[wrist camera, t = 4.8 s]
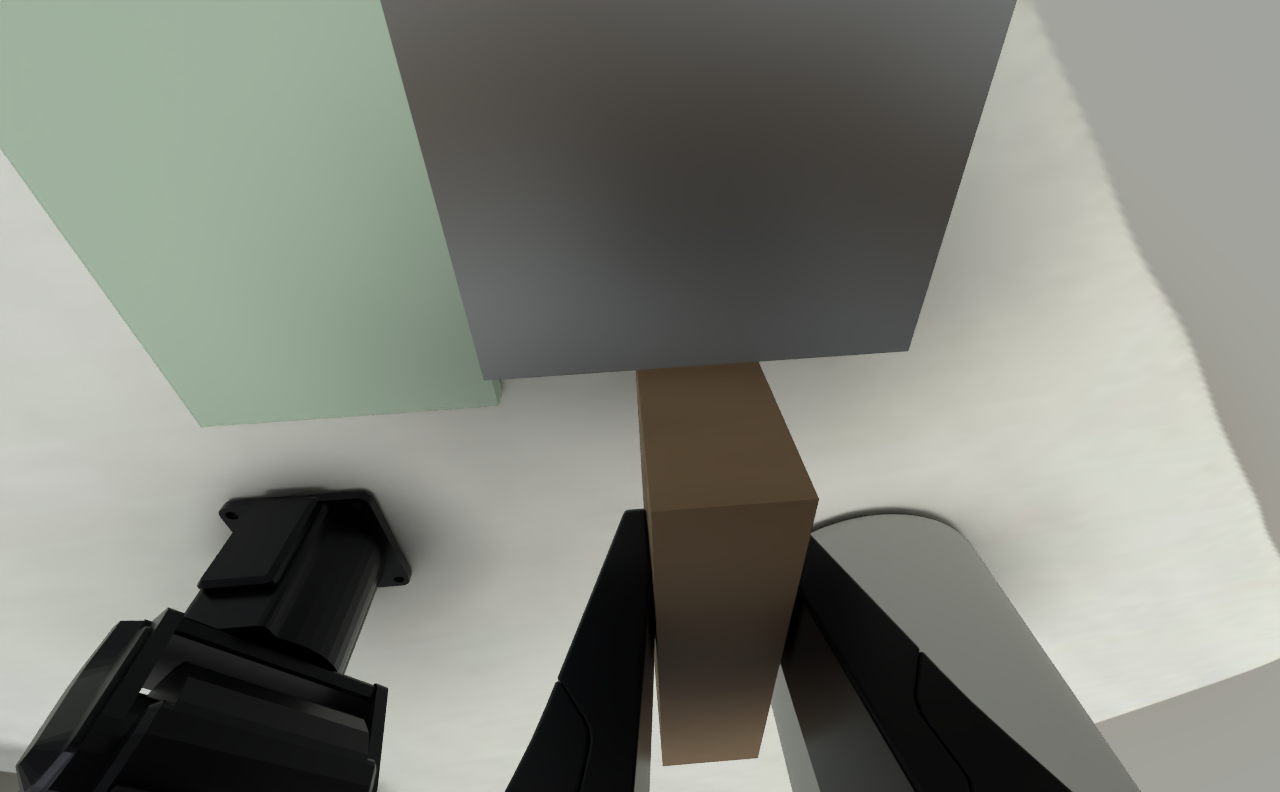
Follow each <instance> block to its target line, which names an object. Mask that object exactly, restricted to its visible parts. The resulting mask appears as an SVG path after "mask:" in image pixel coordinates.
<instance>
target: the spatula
mask: <svg viewBox="0 0 1280 792" xmlns="http://www.w3.org/2000/svg"><path fill="white" fill-rule="evenodd" d="M1016 1H1017V0H380V2H381V5H382V9H383V13H384V16H385V20H386V24H387V27H388V31H389V35H390V38H391V42H392V46H393V49H394V53H395V57H396V60H397V64H398V68H399V71H400V75H401V79H402V82H403V86H404V90H405V93H406V97H407V101H408V104H409V108H410V112H411V115H412V119H413V123H414V126H415V130H416V134H417V137H418V141H419V145H420V148H421V152H422V156H423V159H424V163H425V167H426V170H427V174H428V178H429V181H430V185H431V189H432V192H433V196H434V200H435V203H436V207H437V211H438V214H439V218H440V222H441V225H442V229H443V233H444V236H445V240H446V244H447V247H448V251H449V255H450V258H451V262H452V266H453V269H454V273H455V277H456V280H457V284H458V288H459V291H460V295H461V299H462V302H463V306H464V310H465V313H466V317H467V321H468V324H469V328H470V332H471V335H472V339H473V343H474V346H475V350H476V354H477V357H478V361H479V365H480V368H481V372H482V376H483V379H484V381H486V380H500V379H514V378H529V377H543V376H557V375H572V374H586V373H600V372H615V371H629V370H636V381H637V399H638V416H639V433H640V450H641V467H642V484H643V501H644V509H645V510H646V514H647V525H648V535H649V546H650V556H651V567H652V582H653V602H654V622H655V655H654V662H655V675H656V687H657V699H658V712H659V724H660V736H661V749H662V761H663V766H670V765H682V764H693V763H705V762H716V761H728V760H740V759H751V758H758V754H759V750H760V746H761V742H762V737H763V733H764V729H765V725H766V720H767V716H768V712H769V708H770V704H771V699H772V695H773V691H774V687H775V682H776V678H777V674H778V670H779V666H780V661H781V657H782V653H783V649H784V644H785V640H786V636H787V632H788V628H789V623H790V619H791V615H792V611H793V606H794V602H795V598H796V594H797V590H798V585H799V581H800V577H801V573H802V568H803V564H804V560H805V556H806V552H807V547H808V543H809V539H810V535H811V530H812V526H813V522H814V518H815V514H816V509H817V505H818V501H819V498H818V496H817V494H816V491H815V489H814V487H813V484H812V482H811V480H810V478H809V475H808V473H807V471H806V469H805V466H804V464H803V462H802V460H801V457H800V455H799V453H798V450H797V448H796V446H795V444H794V441H793V439H792V437H791V435H790V432H789V430H788V428H787V426H786V423H785V421H784V419H783V416H782V414H781V412H780V410H779V407H778V405H777V403H776V401H775V398H774V396H773V394H772V391H771V389H770V387H769V385H768V382H767V380H766V378H765V376H764V373H763V371H762V369H761V367H760V364H759V362H758V361H772V360H787V359H801V358H815V357H830V356H844V355H858V354H873V353H887V352H901V351H908V350H909V347H910V343H911V340H912V337H913V334H914V330H915V327H916V324H917V321H918V318H919V314H920V311H921V308H922V305H923V301H924V298H925V295H926V292H927V288H928V285H929V282H930V279H931V276H932V272H933V269H934V266H935V263H936V259H937V256H938V253H939V250H940V246H941V243H942V240H943V237H944V234H945V230H946V227H947V224H948V221H949V217H950V214H951V211H952V208H953V205H954V201H955V198H956V195H957V192H958V188H959V185H960V182H961V179H962V175H963V172H964V169H965V166H966V163H967V159H968V156H969V153H970V150H971V146H972V143H973V140H974V137H975V133H976V130H977V127H978V124H979V121H980V117H981V114H982V111H983V108H984V104H985V101H986V98H987V95H988V92H989V88H990V85H991V82H992V79H993V75H994V72H995V69H996V66H997V62H998V59H999V56H1000V53H1001V50H1002V46H1003V43H1004V40H1005V37H1006V33H1007V30H1008V27H1009V24H1010V20H1011V17H1012V14H1013V11H1014V8H1015V4H1016Z"/></svg>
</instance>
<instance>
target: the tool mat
mask: <svg viewBox="0 0 1280 792" xmlns="http://www.w3.org/2000/svg"><path fill="white" fill-rule="evenodd" d="M0 149H1V150H2V152H3V153H4V154H5V156H6V157H7V159H8V160H9V161H10V163H11V164H12V165H13V167H14V168H15V170H16V171H17V172H18V174H19V175H20V177H21V178H22V179H23V181H24V182H25V184H26V185H27V186H28V188H29V189H30V190H31V192H32V193H33V195H34V196H35V197H36V199H37V200H38V202H39V203H40V204H41V206H42V207H43V209H44V210H45V211H46V213H47V214H48V215H49V217H50V218H51V220H52V221H53V222H54V224H55V225H56V227H57V228H58V229H59V231H60V232H61V234H62V235H63V236H64V238H65V239H66V240H67V242H68V243H69V245H70V246H71V247H72V249H73V250H74V252H75V253H76V254H77V256H78V257H79V259H80V260H81V261H82V263H83V264H84V265H85V267H86V268H87V270H88V271H89V272H90V274H91V275H92V277H93V278H94V279H95V281H96V282H97V284H98V285H99V286H100V288H101V289H102V290H103V292H104V293H105V295H106V296H107V297H108V299H109V300H110V302H111V303H112V304H113V306H114V307H115V309H116V310H117V311H118V313H119V314H120V315H121V317H122V318H123V320H124V321H125V322H126V324H127V325H128V327H129V328H130V329H131V331H132V332H133V334H134V335H135V336H136V338H137V339H138V340H139V342H140V343H141V345H142V346H143V347H144V349H145V350H146V352H147V353H148V354H149V356H150V357H151V359H152V360H153V361H154V363H155V364H156V365H157V367H158V368H159V370H160V371H161V372H162V374H163V375H164V377H165V378H166V379H167V381H168V382H169V384H170V385H171V386H172V388H173V389H174V390H175V392H176V393H177V395H178V396H179V397H180V399H181V400H182V402H183V403H184V404H185V406H186V407H187V409H188V410H189V411H190V413H191V414H192V415H193V417H194V418H195V420H196V421H197V422H198V424H199V425H200V427H209V426H223V425H237V424H251V423H265V422H279V421H292V420H306V419H320V418H334V417H348V416H362V415H375V414H389V413H403V412H417V411H431V410H445V409H459V408H472V407H486V406H498V405H499V401H500V397H501V393H502V387H501V383H500V380H486V381H484V379H483V376H482V372H481V368H480V365H479V361H478V357H477V354H476V350H475V346H474V343H473V339H472V335H471V332H470V328H469V324H468V321H467V317H466V313H465V310H464V306H463V302H462V299H461V295H460V291H459V288H458V284H457V280H456V277H455V273H454V269H453V266H452V262H451V258H450V255H449V251H448V247H447V244H446V240H445V236H444V233H443V229H442V225H441V222H440V218H439V214H438V211H437V207H436V203H435V200H434V196H433V192H432V189H431V185H430V181H429V178H428V174H427V170H426V167H425V163H424V159H423V156H422V152H421V148H420V145H419V141H418V137H417V134H416V130H415V126H414V123H413V119H412V115H411V112H410V108H409V104H408V101H407V97H406V93H405V90H404V86H403V82H402V79H401V75H400V71H399V68H398V64H397V60H396V57H395V53H394V49H393V46H392V42H391V38H390V35H389V31H388V27H387V24H386V20H385V16H384V13H383V9H382V5H381V2H380V0H0Z"/></svg>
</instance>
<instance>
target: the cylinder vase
mask: <svg viewBox="0 0 1280 792" xmlns="http://www.w3.org/2000/svg"><path fill="white" fill-rule="evenodd" d="M811 535H812V536H813V537H814V538H815V539H816V540H817V541H818V542H819V544H820V545H821V546H822V547H823V548H824V549H825V550H826V551H827V552H828V553H829V554H830V555H831V556H832V557H833V558H834V559H835V560H836V561H837V562H838V563H839V564H840V565H841V566H842V568H843V569H844V570H845V571H846V572H847V573H848V574H849V575H850V576H851V577H852V578H853V579H854V580H855V581H856V582H857V583H858V584H859V585H860V586H861V587H862V588H863V589H864V590H865V591H866V593H867V594H868V595H869V596H870V597H871V598H872V599H873V600H874V601H875V602H876V603H877V604H878V605H879V606H880V607H881V608H882V609H883V610H884V611H885V612H886V613H887V614H888V615H889V617H890V618H891V619H892V620H893V621H894V622H895V623H896V624H897V625H898V626H899V627H900V628H901V629H902V630H903V631H904V632H905V633H906V634H907V635H908V636H909V637H910V638H911V639H912V641H913V642H914V643H915V644H916V645H917V646H918V647H919V649H920V651H919V652H924V653H925V654H926V655H927V656H928V657H929V658H930V659H931V660H932V661H933V662H934V663H935V664H936V665H937V666H938V667H939V669H940V670H941V671H942V672H943V673H944V674H945V675H946V676H947V677H948V678H949V679H950V680H951V681H952V682H953V683H954V684H955V685H956V686H957V687H958V688H959V689H960V690H961V691H962V692H963V693H964V694H965V695H966V696H967V697H968V698H969V699H970V700H971V701H972V702H974V703H975V704H976V705H977V706H978V707H979V708H980V709H981V710H982V711H983V712H984V713H985V714H987V715H988V716H989V717H990V718H991V719H992V720H993V721H994V722H995V723H996V724H997V725H999V726H1000V727H1001V728H1002V729H1003V730H1004V731H1005V732H1006V733H1007V734H1008V735H1010V736H1011V737H1012V738H1013V739H1014V740H1015V741H1016V742H1017V743H1019V744H1020V745H1021V746H1022V747H1023V748H1024V749H1025V750H1026V751H1028V752H1029V753H1030V754H1031V755H1032V756H1033V757H1034V758H1035V759H1037V760H1038V761H1039V762H1040V763H1041V764H1042V765H1043V766H1044V767H1046V768H1047V769H1048V770H1049V771H1050V772H1051V773H1052V774H1053V775H1055V776H1056V777H1057V778H1058V779H1059V780H1060V781H1061V782H1063V783H1064V784H1065V785H1066V786H1067V787H1068V788H1069V789H1070V790H1072V791H1073V792H1141V791H1140V790H1139V788H1138V787H1137V785H1136V784H1135V783H1134V781H1133V780H1132V778H1131V777H1130V775H1129V774H1128V772H1127V771H1126V769H1125V768H1124V766H1123V765H1122V764H1121V762H1120V760H1119V759H1118V758H1117V756H1116V755H1115V753H1114V752H1113V750H1112V749H1111V748H1110V746H1109V744H1108V743H1107V742H1106V740H1105V739H1104V737H1103V736H1102V734H1101V733H1100V731H1099V730H1098V728H1097V727H1096V726H1095V724H1094V723H1093V721H1092V720H1091V718H1090V717H1089V715H1088V714H1087V712H1086V711H1085V709H1084V708H1083V707H1082V705H1081V704H1080V702H1079V701H1078V699H1077V698H1076V696H1075V695H1074V693H1073V692H1072V691H1071V689H1070V688H1069V686H1068V685H1067V683H1066V682H1065V680H1064V679H1063V677H1062V676H1061V674H1060V673H1059V672H1058V670H1057V669H1056V667H1055V666H1054V664H1053V663H1052V661H1051V660H1050V658H1049V657H1048V656H1047V654H1046V653H1045V651H1044V650H1043V648H1042V647H1041V645H1040V644H1039V642H1038V641H1037V640H1036V638H1035V637H1034V635H1033V634H1032V632H1031V631H1030V629H1029V628H1028V626H1027V625H1026V623H1025V622H1024V621H1023V619H1022V618H1021V616H1020V615H1019V613H1018V612H1017V610H1016V609H1015V607H1014V606H1013V605H1012V603H1011V602H1010V600H1009V599H1008V597H1007V596H1006V594H1005V593H1004V591H1003V590H1002V589H1001V587H1000V586H999V584H998V583H997V581H996V580H995V578H994V577H993V575H992V574H991V572H990V571H989V570H988V568H987V567H986V565H985V564H984V562H983V561H982V559H981V558H980V556H979V555H978V554H977V552H976V551H975V549H974V548H973V546H972V545H971V544H970V542H969V541H968V540H967V539H966V538H965V537H964V536H963V535H962V534H960V533H959V532H958V531H956V530H955V529H953V528H951V527H950V526H948V525H946V524H943V523H941V522H938V521H936V520H932V519H929V518H925V517H920V516H914V515H904V514H882V515H871V516H864V517H859V518H854V519H849V520H845V521H842V522H838V523H835V524H832V525H829V526H826V527H824V528H821V529H819V530H816V531H814V532H812V533H811ZM771 705H772V709H773V713H774V717H775V721H776V725H777V729H778V733H779V737H780V741H781V746H782V750H783V754H784V758H785V762H786V766H787V770H788V774H789V778H790V782H791V786H792V791H793V792H820V790H819V786H818V783H817V780H816V777H815V774H814V770H813V767H812V764H811V761H810V758H809V754H808V751H807V748H806V745H805V741H804V738H803V735H802V732H801V729H800V725H799V722H798V719H797V716H796V713H795V709H794V706H793V703H792V700H791V697H790V693H789V690H788V687H787V684H786V681H785V677H784V674H783V671H782V668H781V665H780V666H779V670H778V674H777V678H776V682H775V687H774V691H773V695H772V699H771Z"/></svg>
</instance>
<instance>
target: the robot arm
mask: <svg viewBox="0 0 1280 792" xmlns="http://www.w3.org/2000/svg"><path fill="white" fill-rule="evenodd" d="M219 515H220V517H221V518H222V520H223V521H224V522H225V523H226V525H227V526H228V527H229V528H230V530H231V531H232V532H233V533H232V534H231V536H230V537H229V539H228V540H227V542H226V543H225V545H224V546H223V547H222V549H221V550H220V552H219V553H218V555H217V556H216V558H215V559H214V560H213V562H212V563H211V565H210V566H209V568H208V569H207V570H206V572H205V573H204V575H203V576H202V578H201V579H200V581H199V582H198V585H197V586H198V588H199V589H200V591H199V593H198V594H197V596H196V597H195V599H194V600H193V601H192V603H191V604H190V606H189V607H188V609H187V610H186V612H185V613H182V612H180V611H177V610H174V609H171V608H169V607H168V608H167V609H166V610H165V611H164V612H162V613H161V614H160V615H159V616H158V617H157V618H155V619H154V620H153V621H152V622H151V621H148V620H146V619H145V620H144V621H120V622H119V623H118V624H117V625H115V626H114V627H113V628H112V630H111V631H110V632H109V633H108V635H107V636H106V637H105V639H104V640H103V641H102V642H101V644H100V645H99V646H98V648H97V649H96V650H95V651H94V653H93V654H92V655H91V657H90V658H89V659H88V660H87V662H86V663H85V664H84V666H83V667H82V668H81V670H80V671H79V672H78V674H77V675H76V676H75V678H74V679H73V680H72V682H71V683H70V685H69V686H68V687H67V689H66V690H65V692H64V693H63V695H62V696H61V697H60V699H59V701H58V702H57V704H56V705H55V707H54V708H53V710H52V711H51V713H50V714H49V716H48V717H47V719H46V720H45V722H44V723H43V725H42V726H41V728H40V729H39V731H38V732H37V734H36V735H35V737H34V739H33V740H32V742H31V743H30V745H29V746H28V748H27V749H26V751H25V752H24V754H23V755H22V757H21V758H20V760H19V761H18V763H17V764H16V771H17V776H18V782H19V787H20V789H19V790H18V792H377V787H378V779H379V770H380V760H381V751H382V742H383V733H384V723H385V714H386V705H387V696H388V688H387V687H384V686H382V685H379V684H374V685H371V684H369V683H366V682H363V681H360V680H358V679H355V678H352V677H349V676H347V675H344V674H345V671H346V668H347V666H348V663H349V660H350V658H351V655H352V653H353V650H354V647H355V645H356V642H357V639H358V637H359V634H360V632H361V629H362V626H363V624H364V621H365V619H366V616H367V613H368V611H369V608H370V605H371V603H372V600H373V598H374V595H375V592H376V590H377V587H388V586H401V585H406V584H408V583H409V581H410V578H411V575H412V573H411V570H410V568H409V566H408V564H407V562H406V561H405V559H404V557H403V555H402V553H401V551H400V549H399V547H398V545H397V543H396V541H395V539H394V537H393V535H392V533H391V531H390V529H389V528H388V526H387V524H386V522H385V520H384V518H383V516H382V514H381V512H380V510H379V508H378V506H377V504H376V502H375V500H374V498H373V497H372V496H371V495H370V494H368V493H365V492H344V493H331V494H318V495H305V496H291V497H278V498H265V499H251V500H238V501H229V502H226V503H225V504H224V505H223V507H222V508H221V509H220V511H219ZM919 651H920V649H919V647H918V646H917V645H916V644H915V643H914V642H913V641H912V639H911V638H910V637H909V636H908V635H907V634H906V633H905V632H904V631H903V630H902V629H901V628H900V627H899V626H898V625H897V624H896V623H895V622H894V621H893V620H892V619H891V618H890V617H889V615H888V614H887V613H886V612H885V611H884V610H883V609H882V608H881V607H880V606H879V605H878V604H877V603H876V602H875V601H874V600H873V599H872V598H871V597H870V596H869V595H868V594H867V593H866V591H865V590H864V589H863V588H862V587H861V586H860V585H859V584H858V583H857V582H856V581H855V580H854V579H853V578H852V577H851V576H850V575H849V574H848V573H847V572H846V571H845V570H844V569H843V568H842V566H841V565H840V564H839V563H838V562H837V561H836V560H835V559H834V558H833V557H832V556H831V555H830V554H829V553H828V552H827V551H826V550H825V549H824V548H823V547H822V546H821V545H820V544H819V542H818V541H817V540H816V539H815V538H814V537H813V536H812V535H810V539H809V543H808V547H807V552H806V556H805V560H804V564H803V568H802V573H801V577H800V581H799V585H798V590H797V594H796V598H795V602H794V606H793V611H792V615H791V619H790V623H789V628H788V632H787V636H786V640H785V644H784V649H783V653H782V657H781V661H780V665H781V668H782V671H783V674H784V677H785V681H786V684H787V687H788V690H789V693H790V697H791V700H792V703H793V706H794V709H795V713H796V716H797V719H798V722H799V725H800V729H801V732H802V735H803V738H804V741H805V745H806V748H807V751H808V754H809V758H810V761H811V764H812V767H813V770H814V774H815V777H816V780H817V783H818V786H819V790H820V792H1073V791H1072V790H1070V789H1069V788H1068V787H1067V786H1066V785H1065V784H1064V783H1063V782H1061V781H1060V780H1059V779H1058V778H1057V777H1056V776H1055V775H1053V774H1052V773H1051V772H1050V771H1049V770H1048V769H1047V768H1046V767H1044V766H1043V765H1042V764H1041V763H1040V762H1039V761H1038V760H1037V759H1035V758H1034V757H1033V756H1032V755H1031V754H1030V753H1029V752H1028V751H1026V750H1025V749H1024V748H1023V747H1022V746H1021V745H1020V744H1019V743H1017V742H1016V741H1015V740H1014V739H1013V738H1012V737H1011V736H1010V735H1008V734H1007V733H1006V732H1005V731H1004V730H1003V729H1002V728H1001V727H1000V726H999V725H997V724H996V723H995V722H994V721H993V720H992V719H991V718H990V717H989V716H988V715H987V714H985V713H984V712H983V711H982V710H981V709H980V708H979V707H978V706H977V705H976V704H975V703H974V702H972V701H971V700H970V699H969V698H968V697H967V696H966V695H965V694H964V693H963V692H962V691H961V690H960V689H959V688H958V687H957V686H956V685H955V684H954V683H953V682H952V681H951V680H950V679H949V678H948V677H947V676H946V675H945V674H944V673H943V672H942V671H941V670H940V669H939V667H938V666H937V665H936V664H935V663H934V662H933V661H932V660H931V659H930V658H929V657H928V656H927V655H926V654H925V653H924V652H919ZM654 655H655V622H654V602H653V582H652V567H651V556H650V546H649V535H648V525H647V514H646V510H645V509H632V510H626V511H625V512H624V514H623V516H622V519H621V521H620V524H619V526H618V529H617V531H616V534H615V536H614V539H613V541H612V544H611V546H610V549H609V551H608V554H607V556H606V559H605V561H604V564H603V566H602V569H601V571H600V574H599V576H598V579H597V581H596V584H595V586H594V589H593V591H592V594H591V596H590V599H589V601H588V604H587V606H586V609H585V611H584V613H583V616H582V618H581V621H580V623H579V626H578V628H577V631H576V633H575V636H574V638H573V641H572V643H571V646H570V648H569V651H568V653H567V656H566V658H565V661H564V663H563V666H562V668H561V671H560V673H559V676H558V682H556V683H555V685H554V688H553V690H552V693H551V695H550V698H549V700H548V703H547V705H546V707H545V710H544V712H543V714H542V716H541V719H540V721H539V723H538V726H537V728H536V730H535V733H534V735H533V737H532V739H531V741H530V743H529V745H528V747H527V749H526V751H525V753H524V755H523V757H522V759H521V761H520V763H519V765H518V767H517V769H516V771H515V773H514V775H513V777H512V779H511V781H510V783H509V785H508V786H507V788H506V790H505V792H649V787H650V760H651V734H652V707H653V681H654ZM141 688H145V689H149V690H152V691H151V692H150V693H149V694H148V695H145V694H141V693H139V692H140V690H141Z"/></svg>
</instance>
